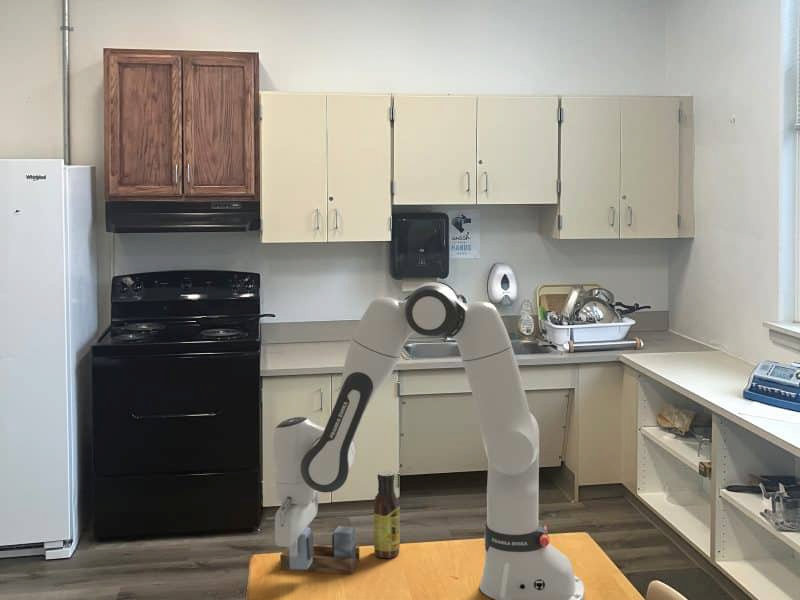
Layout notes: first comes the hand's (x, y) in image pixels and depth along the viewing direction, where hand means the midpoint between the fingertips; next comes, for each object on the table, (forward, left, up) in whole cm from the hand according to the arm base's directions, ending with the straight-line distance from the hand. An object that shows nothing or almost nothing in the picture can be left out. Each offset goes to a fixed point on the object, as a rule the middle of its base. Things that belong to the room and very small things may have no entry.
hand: (298, 550), depth 195 cm
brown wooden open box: (-2, -9, -7) cm, 12 cm away
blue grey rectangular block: (-1, 0, -3) cm, 3 cm away
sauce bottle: (-16, -18, -7) cm, 25 cm away
